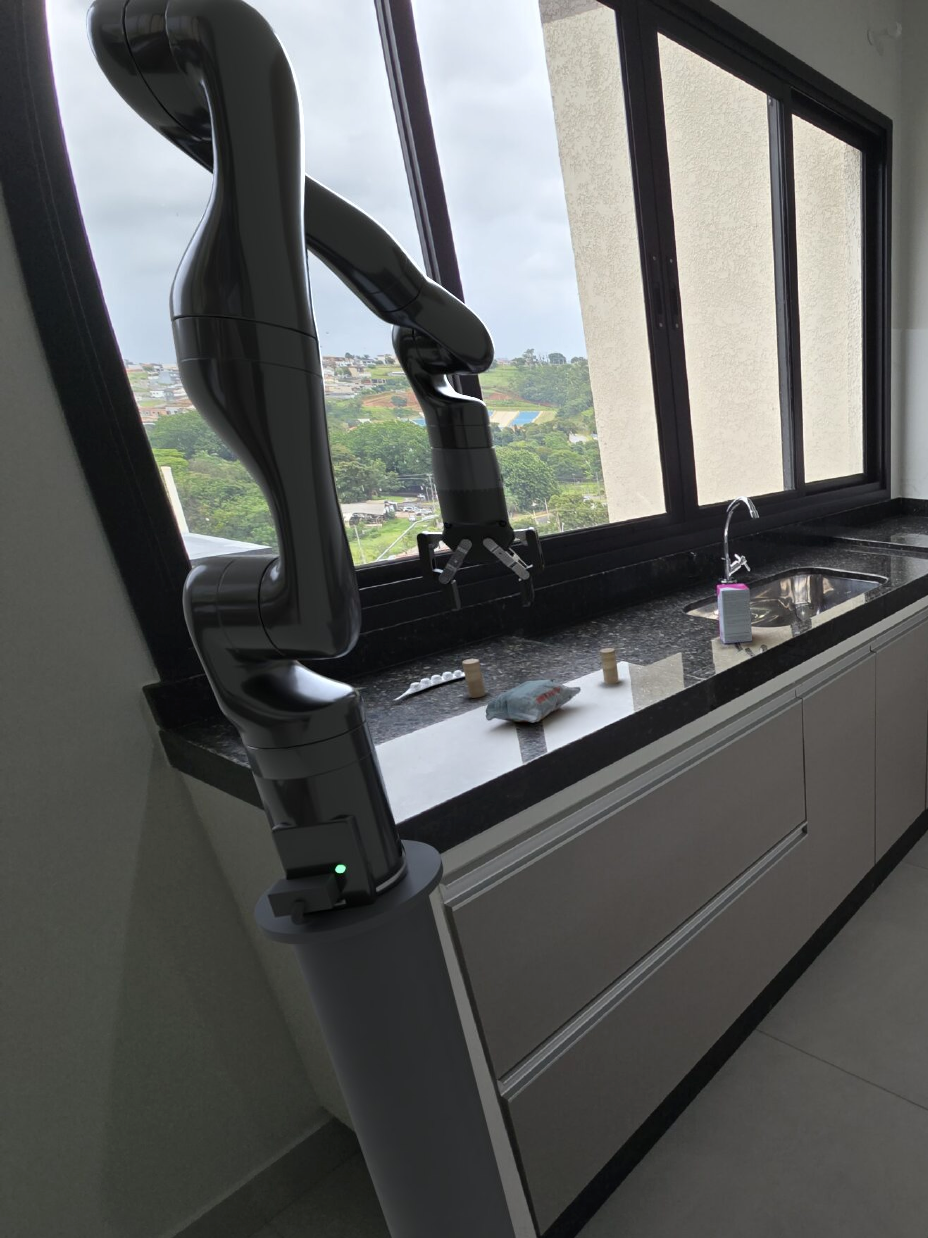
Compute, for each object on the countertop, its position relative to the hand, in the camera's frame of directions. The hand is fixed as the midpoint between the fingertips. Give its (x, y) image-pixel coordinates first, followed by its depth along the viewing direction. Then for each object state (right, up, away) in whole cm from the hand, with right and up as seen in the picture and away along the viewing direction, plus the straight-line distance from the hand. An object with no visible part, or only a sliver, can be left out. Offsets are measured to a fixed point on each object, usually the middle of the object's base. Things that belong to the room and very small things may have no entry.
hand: (492, 607), depth 100 cm
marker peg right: (+5, -11, +29) cm, 31 cm away
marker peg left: (-15, -13, +23) cm, 30 cm away
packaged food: (-2, -16, +16) cm, 22 cm away
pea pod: (-25, -11, +27) cm, 38 cm away
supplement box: (+21, -2, +52) cm, 57 cm away
